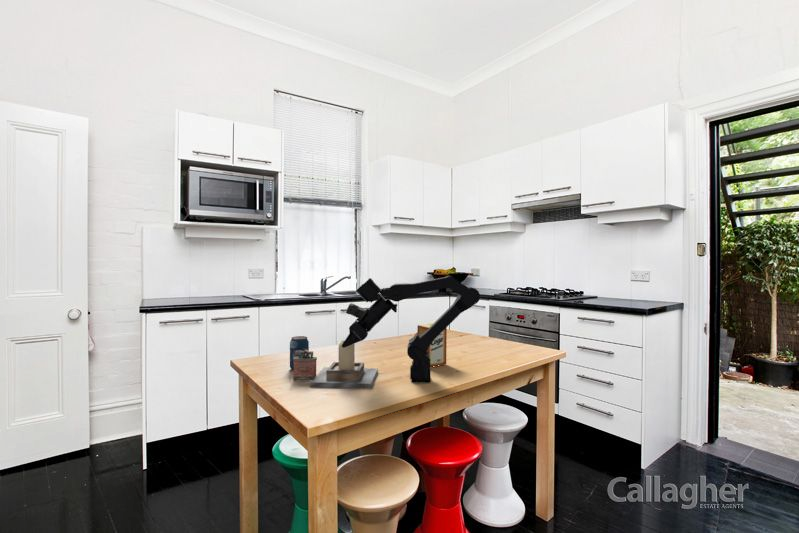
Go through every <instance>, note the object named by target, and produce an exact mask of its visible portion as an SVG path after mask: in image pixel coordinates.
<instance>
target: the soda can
mask: <svg viewBox="0 0 799 533" xmlns="http://www.w3.org/2000/svg"><path fill="white" fill-rule="evenodd" d="M309 345H310V344H309V340H308V336H304V335H303V336H301V335H300V336H299V335H298V336H297V335H295V336H292V337H291V340H290V342H289V368H290V370H291V371H292V370H293V371H292V372H294V361H293V358H294V357H299V355H295V352H296V351H305V350H308V351H310V350H309V348H310V346H309ZM302 356H303V355H301V357H302Z"/></svg>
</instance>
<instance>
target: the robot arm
mask: <svg viewBox="0 0 799 533" xmlns="http://www.w3.org/2000/svg"><path fill="white" fill-rule="evenodd" d="M444 289H450V290H452V291H454V292H455V293H456V294H458V295H457V297H456V298H455V300H454V302H453V303H452V304H451V305H450V307H448V308H447V309H446V311H444V313H443V314H441V316H439V318H438V319H436V321H434V322H433V323H434V324H433V323H432V324H433V325H432V326H431V327H430V328H429V329H427V330H426V331H425V332H424V333H423V334H421V335H419V334H418V333H417V332H416V333H414V335H413V336H412V337H411V338H409V340H408V342H407V343H408V344H407V346H406V347H407V349H406V351H407V356H408V357H409V359H410V360H412V361H411V365H410V368H409V372H410V373H409V374H410V375H409V376H410V377H409V378H410V380H411V383H417V384H418V383H420V384H421V383H423V384H425V383H426V384H429V383H431V382H432V380H431V379H432V378H431V368H430V356H429V353H428V352H427V350H428V348H429V346H430V345H431V343H432V341H433V340H434V339H435V338H436V337H437V336H438V335H439V334H440V333H441V332H442V331H443V330H444V329H445V328H446V327H447V328H448V326H450V325H451V324H452V323H453V322H454V321H455V320H456V319H457V318H458V317H459V316H460V315H461V314H462V313H464V312H465V311H468V310H469V309H471V308H472V307H473V306H475V305H476V304H478V303H479V301H480V298H481V295H480V292H479V291H478V289H476V288H474V287H472V286H466V285H465V284H464V283H461V282H460V281H459V280H457V279H456V278H455V277H453V276H452V275H446V276H444V277H438V278H435V279H428V280H424V281H420V282H413V283H412V282H411V283H408V282H407V283H405V282H404V283H394V284H392V285H390V287H383V288H381V287H379V285H377V283H376V282H375V281H374V280H373V278H371V277H370V278H368V279H367V280H366V281H365V282H364V283H363V284H361V285H360V286H359V287H358V288H357V289H356V291H355V292H356V293H357V294H358V295H359V296H360V297H361V298H362V300H364V301H365V302H366V303H368V302H369V303H371V304H372V303H373V302H374V301H375V300H376V301H375V302H374V303H373V304H372V305H370V306H369V307H367V308H366V309H365V308H363V307H362V306H359V305H356V304H355V303H353V302H352V303H351V302H350V303H349V304H348V307H347V309H346V311H345V314H347V315H351V316H353V317H354V318H356V319H355V321H354V322H353V323H351V325H350V326H349V328H348V330H349V331H348V332H349V334H348V335H347V336H346V338H345V339H344V340H343V341H344V343H343V344H342V347H343V348H345V347H347V346H350V345H352V344H356V343H359V342H362V341H364V340H365V339H366V338H367V337H368V336H369V332H371V331H372V330H373V328H374V327H375V326H376V325H377V324H379V323H380V322H381V320H382V319H383V318H385V316H386V315H387V314H388V313H389V312H390V311H393V312H394V313H397V312H398V308H397V307H398V303H394V302H400V301H403V300H405V299H408V298H411V297H412V296H415V295H420V294H423V293H428V292H433V291H438V290H444ZM378 297H379V298H378ZM386 297H387V299H386ZM377 298H378V299H377Z"/></svg>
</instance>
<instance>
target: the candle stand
mask: <svg viewBox="0 0 799 533" xmlns="http://www.w3.org/2000/svg"><path fill="white" fill-rule="evenodd" d="M378 373H379V368H373V367H371V368H368V367H367V368H366V367H365V362H359V361H358V362H355V368H354V370H339V361H333V362H332V363H331V364H330V366H329V367H328V366H326V367H325V366H324V367H323V368H322V369H321V370H319V372H318V373H316V376H315V377H314V378H313V380H311V381H309V387H310V388H338V387H339V388H341V387H342V388H345V389H348V388H349V389H372V387H373V386H374V383H373V382H375V380H376V377H377V376H378ZM376 375H377V376H376Z"/></svg>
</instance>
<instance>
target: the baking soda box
mask: <svg viewBox="0 0 799 533" xmlns="http://www.w3.org/2000/svg"><path fill="white" fill-rule="evenodd" d="M434 323H435V322H433V323H426V324H418V325H417V329H416V330H417V332H416V333H418V334H419V335H421V334H423V333H424V332H425V331H426V330H427V329H429V328H430V327H431V326H432V325H433V324H434ZM447 328H448V326H447V327H446V328H445V329H444V330H443V331H442V332H441V333H440V334H439V335H438V336H437V337H436V338H435V339H434V340H433V341H432V343H431V345H430V346H429V348H428V350H427V352H428V353H429V356H430V367H432V368H434V367H433V366H437V367H439V366H438V365H442V366H444V365H443V364H446V365H447Z"/></svg>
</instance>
